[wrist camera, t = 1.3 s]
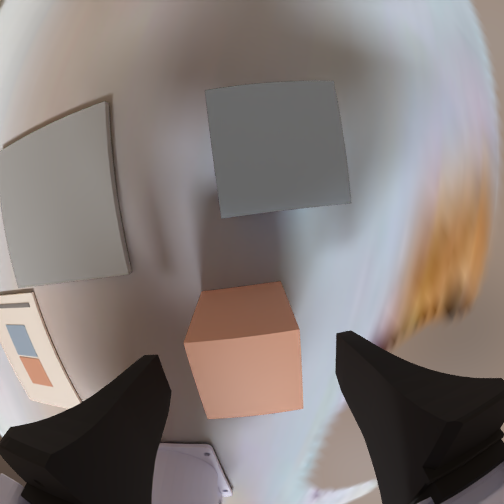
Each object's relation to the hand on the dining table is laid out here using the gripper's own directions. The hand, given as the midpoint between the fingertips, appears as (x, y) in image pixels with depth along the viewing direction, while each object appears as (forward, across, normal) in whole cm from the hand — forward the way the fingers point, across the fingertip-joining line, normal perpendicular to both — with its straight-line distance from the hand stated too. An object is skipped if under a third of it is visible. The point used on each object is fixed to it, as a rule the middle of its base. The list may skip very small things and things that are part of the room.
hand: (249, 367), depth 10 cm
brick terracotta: (+4, 0, 0) cm, 4 cm away
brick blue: (+4, -2, -8) cm, 9 cm away
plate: (+4, +10, -8) cm, 13 cm away
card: (+4, +17, +2) cm, 18 cm away
